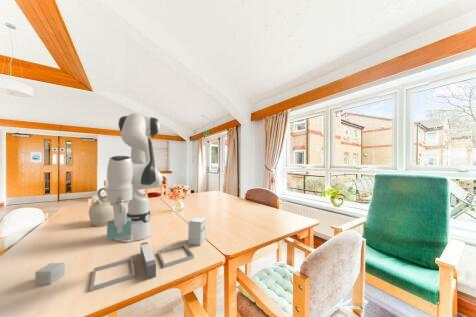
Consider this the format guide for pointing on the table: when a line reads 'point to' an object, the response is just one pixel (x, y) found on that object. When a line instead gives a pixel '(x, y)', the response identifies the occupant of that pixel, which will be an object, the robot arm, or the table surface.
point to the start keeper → (175, 260)
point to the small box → (49, 273)
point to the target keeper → (94, 287)
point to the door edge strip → (148, 260)
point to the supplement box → (196, 231)
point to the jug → (101, 211)
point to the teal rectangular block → (113, 229)
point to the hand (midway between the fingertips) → (119, 229)
